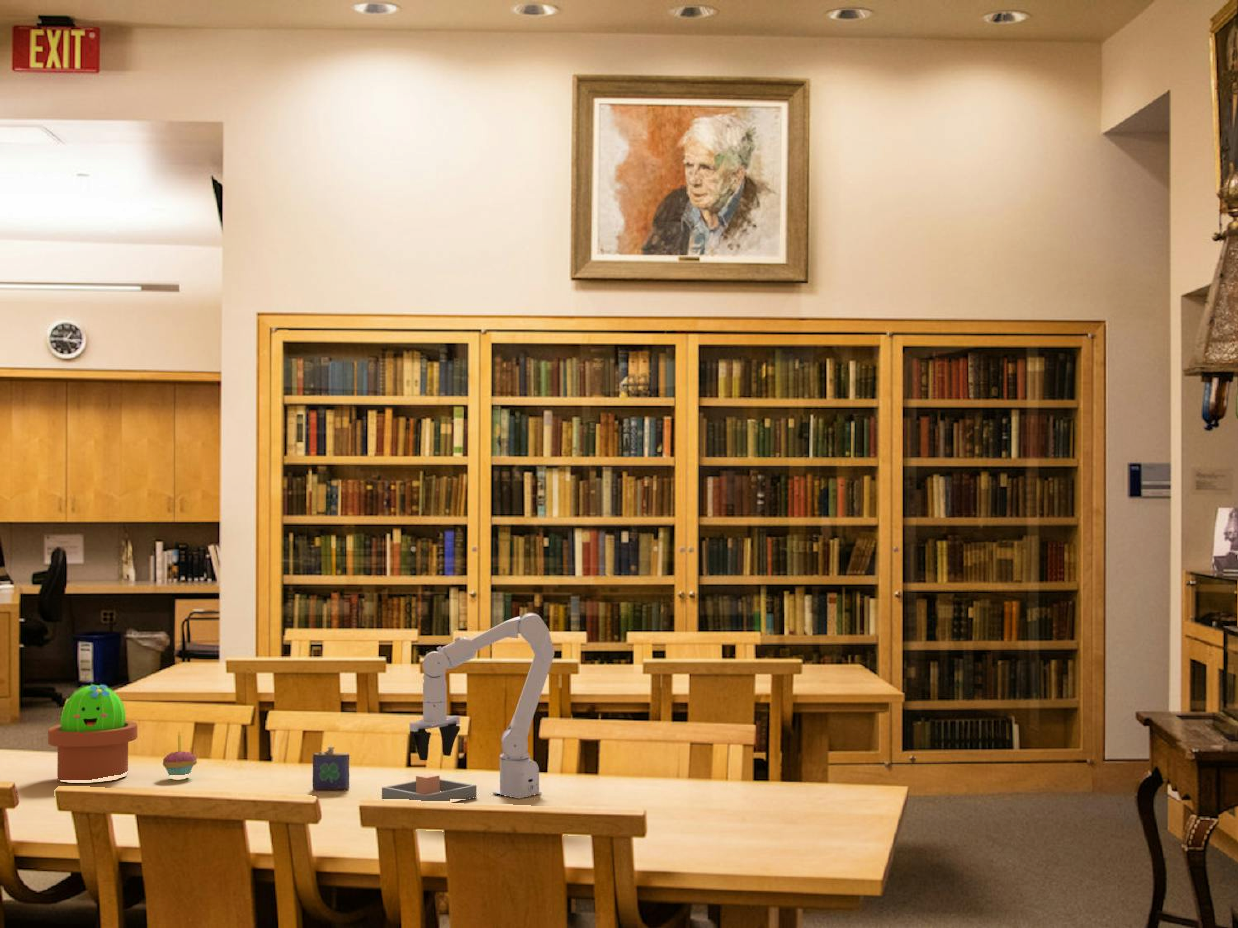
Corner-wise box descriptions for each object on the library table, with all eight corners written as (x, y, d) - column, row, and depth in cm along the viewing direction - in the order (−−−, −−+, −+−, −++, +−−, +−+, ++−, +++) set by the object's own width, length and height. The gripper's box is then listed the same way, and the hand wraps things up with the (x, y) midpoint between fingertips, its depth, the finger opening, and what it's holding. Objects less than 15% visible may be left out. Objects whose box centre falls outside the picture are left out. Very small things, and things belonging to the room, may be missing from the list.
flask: (350, 788, 345) (350, 745, 345) (347, 790, 342) (347, 747, 342) (314, 788, 345) (313, 745, 345) (310, 791, 342) (310, 747, 342)
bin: (476, 797, 332) (476, 785, 332) (425, 808, 320) (425, 795, 320) (432, 789, 342) (432, 777, 342) (381, 799, 330) (381, 787, 330)
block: (439, 796, 332) (439, 775, 332) (426, 798, 329) (426, 777, 329) (428, 794, 334) (428, 773, 334) (415, 796, 331) (415, 775, 331)
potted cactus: (53, 773, 369) (54, 679, 370) (140, 768, 375) (140, 676, 376) (42, 788, 348) (42, 689, 349) (133, 783, 354) (134, 685, 355)
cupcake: (161, 777, 362) (161, 731, 362) (194, 774, 365) (194, 729, 366) (164, 782, 354) (165, 736, 354) (199, 780, 358) (199, 733, 358)
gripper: (445, 696, 343) (446, 751, 342) (401, 703, 332) (401, 760, 331) (465, 699, 338) (465, 754, 338) (420, 705, 327) (420, 763, 327)
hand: (435, 757), depth 334 cm, fingers open, 7 cm apart
